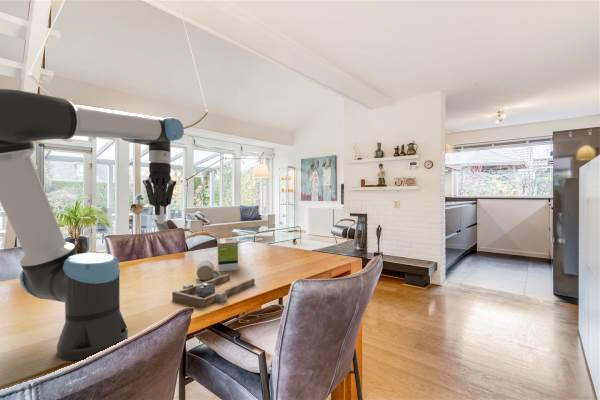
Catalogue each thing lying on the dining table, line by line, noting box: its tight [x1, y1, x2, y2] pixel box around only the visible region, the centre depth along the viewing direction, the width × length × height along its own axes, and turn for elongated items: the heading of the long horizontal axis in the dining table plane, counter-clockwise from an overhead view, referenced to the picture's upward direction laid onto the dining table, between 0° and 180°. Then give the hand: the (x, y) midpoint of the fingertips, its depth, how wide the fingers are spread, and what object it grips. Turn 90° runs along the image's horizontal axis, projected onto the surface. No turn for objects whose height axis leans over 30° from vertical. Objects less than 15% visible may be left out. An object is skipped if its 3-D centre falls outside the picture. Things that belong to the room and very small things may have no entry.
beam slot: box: [171, 273, 255, 309], centre depth 117 cm, size 29×20×3 cm
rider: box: [195, 282, 216, 298], centre depth 112 cm, size 7×7×5 cm
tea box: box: [216, 237, 239, 273], centre depth 155 cm, size 15×10×15 cm, turn 17°
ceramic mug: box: [196, 260, 222, 282], centre depth 135 cm, size 11×8×8 cm
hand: (160, 223), depth 113 cm, fingers closed
